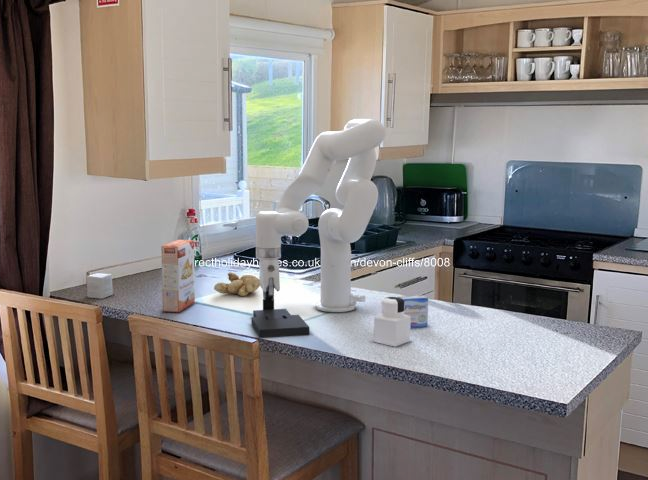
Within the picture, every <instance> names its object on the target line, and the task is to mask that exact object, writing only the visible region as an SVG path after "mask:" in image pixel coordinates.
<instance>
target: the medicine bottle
mask: <svg viewBox="0 0 648 480" xmlns="http://www.w3.org/2000/svg"><path fill="white" fill-rule="evenodd" d="M399 297H400V296H387V297H384V298H382V299H381V308H380V309H381V314H379V315H378V314H377V315H376V316H374V322H373V323H374V326H373V331H374V332H373V342H374V343H378V344H381V345H387V346H391V347H395V348H397V347H399V346H402V345H404V344H406V343H408V342H411V328H410V324H411V316H409V315H404V300H403V299H401V298H399Z"/></svg>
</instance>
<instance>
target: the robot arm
mask: <svg viewBox="0 0 648 480" xmlns="http://www.w3.org/2000/svg"><path fill="white" fill-rule="evenodd" d="M385 138H386V128H385V125H384V124H383V123H382V122H381V121H379V120H377V119H375V118H354V119H352V120H351V119H350V120H349V121H347V123H346V124H345V126H344V128H343V130H342V129H341V130H339V131H333V130H332V131H330V130H329V131H328V130H327V131H323V132H321V133H320V134H318V135H317V136H316V138H315V140H314V142H313V144H312V146H311V148H310V149H309V150H310V151H309V152H308V155H307V157H306V159H305V161H304V163H303V165H302V167H301V170H300V172H299V173H298V175H297V176H296V177H294V179H293V181H292V182H291V183H290V184H289V185H288V187H287V188H286V189H285V190H284V192H283V193H282V195H281V197H280V198H279V201H278V202H277V205H276V207H275V209H274V211H271V210H269V211H268V210H267V211H266V210H265V211H264V210H263V211H259V212H257V213H256V215H255V258H256V259H258V260H259V262H258V264H259V267H258V268H259V271H258V273H259V274H258V277H259V278H258V279H260V286H259V287H260V288H261V289H262V310H272V309H275V291H276V292H279V291H280V290H281V285H280V284H281V282H280V264H279V259H281V258H282V236H287V237H299V236H302V235H303V234H305V233H306V232H307V230H308V229H309V224H310V223H309V219H308V217H307V216H306V215H305V214H304V213H303V212H301V211H300V210H301V208H302V206H303V205H304V203H305V202H306V201H307V200H308V199H309V198H310V197H311V196H313V195H314V194H316V193H318V192H319V191H320V190H322V189H323V188H325V186H326V184H327V182H328V180H329V178H330V175H331V173H332V171H333V168H334V166H335V164H336V163H337V161H346V160H348V162H347V165H346V167H345V169H344V172H343V173H342V176H341V178H340V180H339V182H338V184H337V187H336V190H335V199H336V201H337V202H338V203H339V205H342V206H343V208H337V207H332V208H328V209H325V211H323V212H322V213H321V214H320V216H319V219H318V223H317V225H318V226H317V228H318V236H319V243H320V301H318V302H316V303H315V309H316V310H317V311H322V312H327V313H347V312H350V311H353V310H356V303H358V302H359V303H361V302H362V303H363V302H366V295H360V294H353V293H352V292H351V291H352V290H351V289H352V283H351V282H352V247H351V244H352V243H355V242H357V241H358V240H360V239H361V238H362V236H363V235H364V233H365V232H366V229H367V227H368V225H369V222H370V221H371V218H372V216H373V214H374V211H375V209H376V207H377V204H378V201H379V190H378V187H377V185H376V184H375V182H374V181H372V180H371V179H372V177H373V174H374V172H375V169H376V165H377V154H376V148H377V147H379V146H380V145H381V144H382V143H383V142H384V140H385Z"/></svg>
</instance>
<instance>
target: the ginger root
mask: <svg viewBox="0 0 648 480" xmlns="http://www.w3.org/2000/svg"><path fill="white" fill-rule="evenodd" d="M227 278H228V281H229V282H230V283H226V282H218V283H216V284H214V287H213V289H214V291H216V292H217V293H218V294H223V295H225V294H227V295H229V294H231V295H232V294H233V295H234V294H235V295H239V296H241V297H244V296H248V294H249V293H252V292H256V291H257V290H259V288H260V287H261V286H260V279H259V278H258V277H256V276H254V275H252V274H243V275H242V276H241V277H239V275H237V274H236V273H234V272H231V271H230V272H228V273H227Z"/></svg>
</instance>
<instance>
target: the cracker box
mask: <svg viewBox="0 0 648 480" xmlns="http://www.w3.org/2000/svg"><path fill="white" fill-rule="evenodd" d="M160 247H161V249H160V250H161V287H162V288H161V295H162V296H161V297H162V299H161V301H162V312H166V313H180V312H182V311H183V310H185V309H187V308H188V307H191V306H192V305H193V304H195V303H196V296H195V291H196V289H195V288H196V287H195V240H193V239H176V240H174V241H171V242H168V243H166V244H163V245H161V246H160Z"/></svg>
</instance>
